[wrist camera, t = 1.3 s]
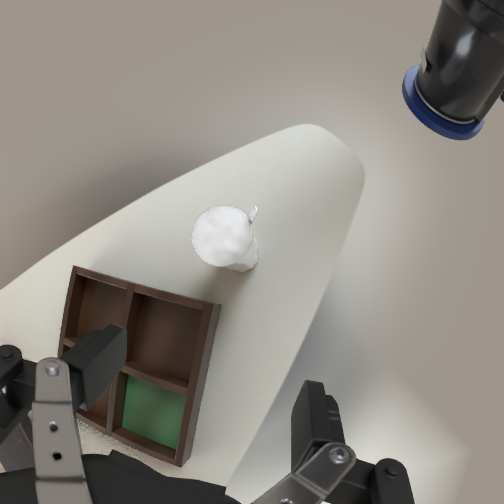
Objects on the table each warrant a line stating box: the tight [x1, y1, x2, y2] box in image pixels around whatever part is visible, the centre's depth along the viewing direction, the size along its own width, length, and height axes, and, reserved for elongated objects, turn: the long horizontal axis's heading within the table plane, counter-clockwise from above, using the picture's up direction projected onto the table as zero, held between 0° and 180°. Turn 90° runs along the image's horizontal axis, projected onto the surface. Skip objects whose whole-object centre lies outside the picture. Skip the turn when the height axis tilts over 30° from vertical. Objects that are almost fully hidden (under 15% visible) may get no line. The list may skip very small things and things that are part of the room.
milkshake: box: [192, 205, 258, 272], centre depth 25 cm, size 4×5×10 cm
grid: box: [57, 265, 221, 467], centre depth 28 cm, size 17×17×3 cm
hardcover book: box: [0, 389, 35, 472], centre depth 29 cm, size 16×23×2 cm
